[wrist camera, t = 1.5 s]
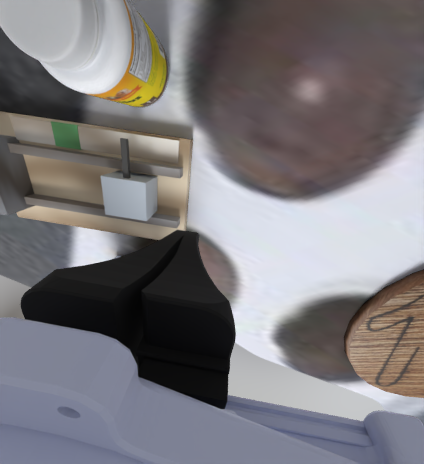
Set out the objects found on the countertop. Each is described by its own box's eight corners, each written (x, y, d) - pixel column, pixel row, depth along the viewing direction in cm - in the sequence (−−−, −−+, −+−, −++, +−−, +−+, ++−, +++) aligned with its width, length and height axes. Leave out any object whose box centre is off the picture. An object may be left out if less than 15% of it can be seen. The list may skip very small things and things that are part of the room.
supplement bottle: (106, 97, 18) (-25, 60, 9) (109, 15, 15) (-69, -155, 6) (165, 117, 18) (97, 101, 9) (177, 40, 16) (101, -90, 7)
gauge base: (185, 239, 24) (175, 260, 20) (27, 213, 24) (-13, 228, 20) (192, 139, 19) (181, 140, 15) (-6, 110, 19) (-68, 104, 15)
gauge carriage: (157, 210, 21) (146, 221, 18) (121, 204, 21) (105, 214, 19) (157, 141, 18) (144, 142, 15) (115, 134, 18) (95, 134, 16)
